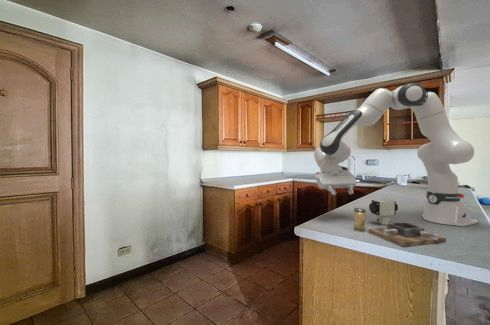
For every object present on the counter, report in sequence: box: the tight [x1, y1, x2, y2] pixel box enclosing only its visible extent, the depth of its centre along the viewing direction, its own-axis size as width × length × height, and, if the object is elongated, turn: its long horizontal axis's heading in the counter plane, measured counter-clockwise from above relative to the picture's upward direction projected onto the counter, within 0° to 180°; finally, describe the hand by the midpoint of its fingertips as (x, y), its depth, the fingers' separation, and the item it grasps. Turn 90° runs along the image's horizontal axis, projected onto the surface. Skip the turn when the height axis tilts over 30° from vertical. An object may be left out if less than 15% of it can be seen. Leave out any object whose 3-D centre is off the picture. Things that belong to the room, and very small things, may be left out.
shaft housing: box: [368, 221, 447, 248], centre depth 91 cm, size 20×17×4 cm
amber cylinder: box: [353, 207, 367, 232], centre depth 100 cm, size 4×4×9 cm
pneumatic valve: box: [368, 198, 399, 226], centre depth 109 cm, size 6×12×12 cm, turn 98°
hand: (343, 193), depth 111 cm, fingers open, 8 cm apart
